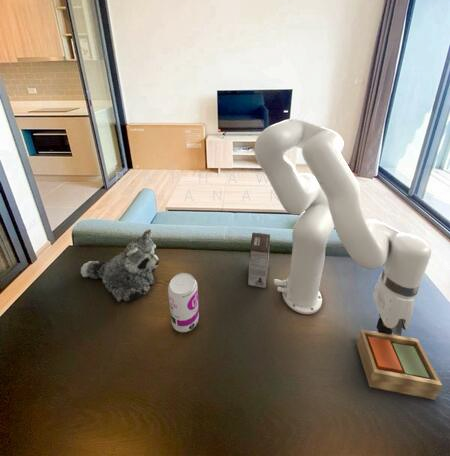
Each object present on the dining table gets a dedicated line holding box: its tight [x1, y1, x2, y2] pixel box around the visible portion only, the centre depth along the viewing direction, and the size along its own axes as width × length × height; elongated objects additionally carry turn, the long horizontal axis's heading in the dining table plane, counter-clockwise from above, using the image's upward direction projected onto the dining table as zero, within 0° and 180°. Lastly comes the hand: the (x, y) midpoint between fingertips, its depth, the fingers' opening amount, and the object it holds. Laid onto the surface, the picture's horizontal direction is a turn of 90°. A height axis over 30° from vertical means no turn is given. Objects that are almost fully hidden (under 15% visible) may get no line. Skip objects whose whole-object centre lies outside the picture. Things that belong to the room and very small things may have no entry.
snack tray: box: [356, 329, 443, 400], centre depth 61 cm, size 14×10×6 cm
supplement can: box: [167, 272, 200, 333], centre depth 71 cm, size 8×8×15 cm
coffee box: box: [247, 232, 271, 289], centre depth 86 cm, size 9×6×16 cm
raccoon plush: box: [80, 228, 160, 303], centre depth 82 cm, size 15×32×21 cm, turn 89°
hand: (383, 331), depth 67 cm, fingers closed
